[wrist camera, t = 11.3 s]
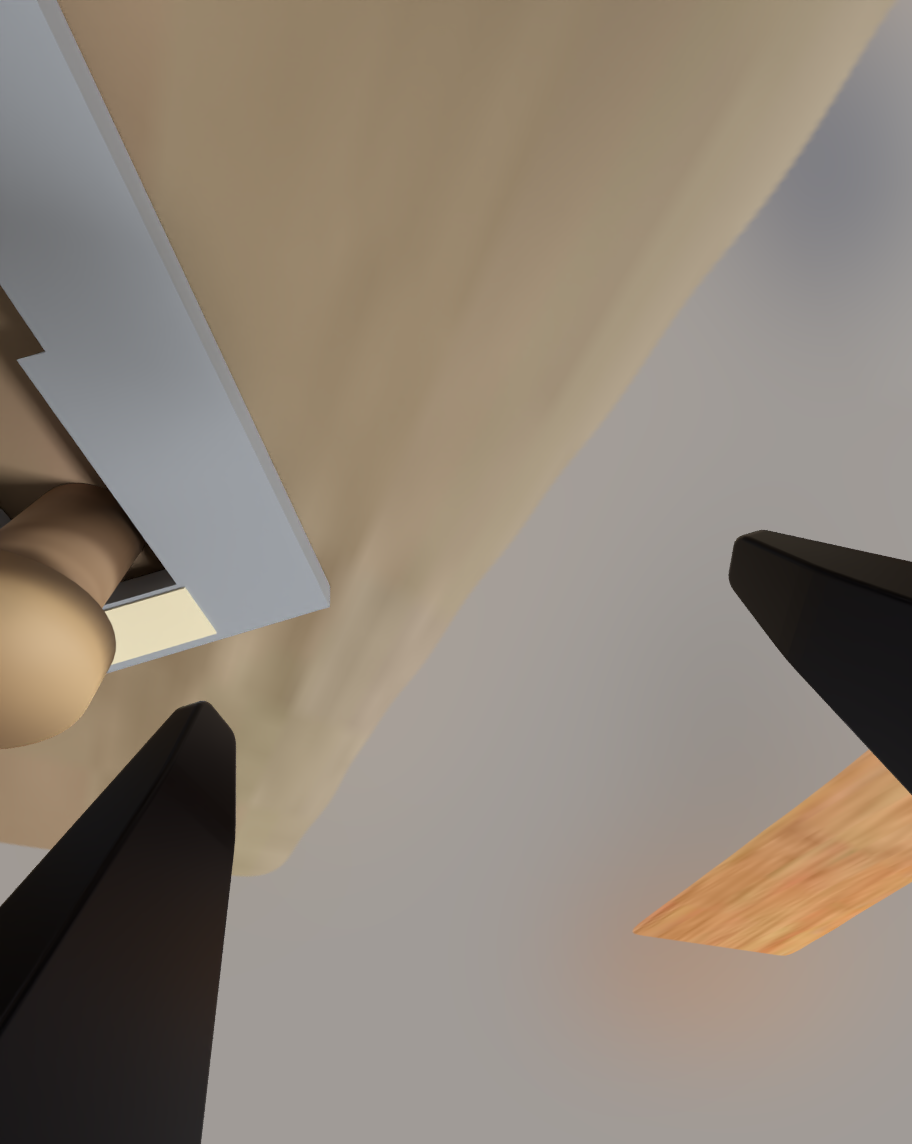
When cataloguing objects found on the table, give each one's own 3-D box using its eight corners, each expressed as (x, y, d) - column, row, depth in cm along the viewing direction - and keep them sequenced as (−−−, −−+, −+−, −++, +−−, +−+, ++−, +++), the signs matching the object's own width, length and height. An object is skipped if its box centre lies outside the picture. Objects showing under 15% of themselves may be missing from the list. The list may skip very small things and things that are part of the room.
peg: (120, 437, 16) (-21, 550, 9) (203, 564, 19) (137, 712, 13) (-42, 480, 15) (-297, 627, 9) (69, 602, 18) (-65, 773, 12)
